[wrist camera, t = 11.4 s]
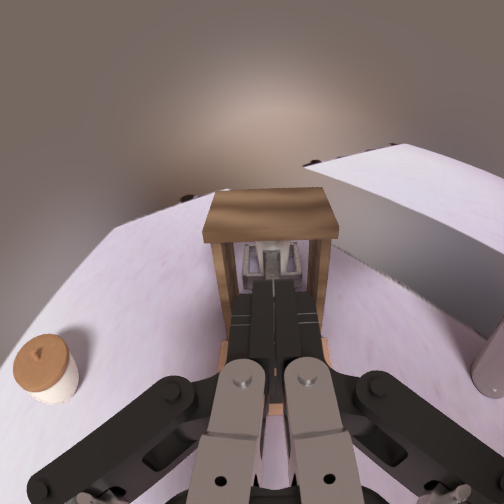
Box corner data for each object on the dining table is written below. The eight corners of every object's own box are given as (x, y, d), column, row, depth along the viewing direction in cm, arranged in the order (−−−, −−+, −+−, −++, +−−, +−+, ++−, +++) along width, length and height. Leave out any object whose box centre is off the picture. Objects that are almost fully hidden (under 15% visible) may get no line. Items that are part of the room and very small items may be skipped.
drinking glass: (258, 290, 57) (253, 218, 49) (254, 268, 63) (249, 200, 54) (294, 285, 57) (295, 214, 49) (287, 264, 63) (287, 197, 54)
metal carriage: (246, 255, 66) (242, 211, 60) (296, 254, 65) (297, 209, 59) (238, 353, 45) (231, 303, 39) (309, 351, 44) (315, 301, 38)
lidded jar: (96, 365, 43) (71, 327, 38) (79, 420, 34) (46, 386, 29) (49, 360, 43) (23, 324, 38) (30, 409, 34) (-3, 375, 29)
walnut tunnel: (230, 296, 56) (215, 191, 44) (315, 293, 55) (322, 187, 43) (224, 345, 47) (202, 231, 35) (324, 342, 46) (339, 226, 34)
